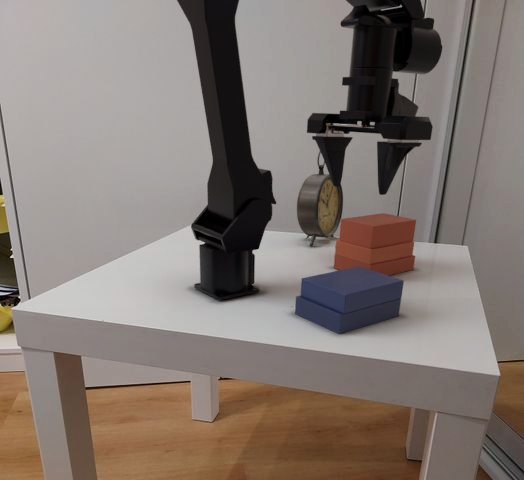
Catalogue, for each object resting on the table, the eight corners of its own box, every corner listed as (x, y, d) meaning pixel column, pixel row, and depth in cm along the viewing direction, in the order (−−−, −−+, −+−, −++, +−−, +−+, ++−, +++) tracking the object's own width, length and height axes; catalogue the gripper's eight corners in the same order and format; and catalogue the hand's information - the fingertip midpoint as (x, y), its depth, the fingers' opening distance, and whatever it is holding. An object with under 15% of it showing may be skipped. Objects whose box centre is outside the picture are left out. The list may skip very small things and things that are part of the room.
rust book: (370, 249, 75) (373, 226, 74) (339, 240, 80) (340, 218, 78) (413, 241, 80) (416, 219, 79) (381, 233, 85) (383, 213, 84)
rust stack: (369, 280, 76) (372, 250, 74) (333, 268, 82) (335, 239, 80) (413, 269, 82) (417, 241, 80) (376, 259, 87) (380, 232, 85)
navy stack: (339, 334, 58) (342, 295, 56) (294, 313, 63) (296, 278, 61) (399, 315, 63) (404, 280, 61) (354, 298, 69) (357, 265, 67)
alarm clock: (316, 249, 92) (322, 150, 86) (289, 244, 95) (293, 148, 88) (342, 238, 101) (349, 147, 94) (316, 234, 103) (322, 145, 97)
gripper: (467, 71, 68) (446, 195, 75) (362, 75, 82) (352, 180, 88) (412, 64, 62) (394, 200, 68) (308, 70, 76) (301, 183, 82)
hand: (358, 190), depth 77 cm, fingers open, 9 cm apart
